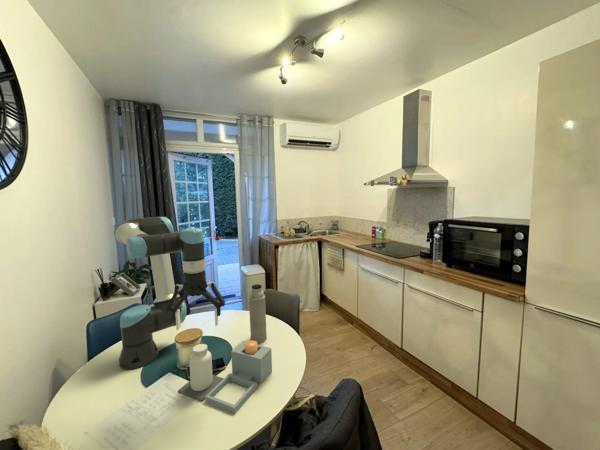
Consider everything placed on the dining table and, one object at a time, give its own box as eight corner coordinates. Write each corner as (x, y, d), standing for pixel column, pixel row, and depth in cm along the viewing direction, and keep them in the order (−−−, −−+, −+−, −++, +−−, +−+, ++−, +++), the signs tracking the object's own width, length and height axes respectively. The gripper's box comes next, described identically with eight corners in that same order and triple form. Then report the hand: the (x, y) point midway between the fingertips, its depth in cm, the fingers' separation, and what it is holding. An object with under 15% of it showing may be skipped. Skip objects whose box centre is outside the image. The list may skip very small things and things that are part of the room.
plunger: (243, 362, 106) (242, 345, 105) (250, 355, 110) (249, 339, 110) (253, 365, 104) (252, 348, 103) (260, 358, 108) (259, 342, 108)
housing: (204, 401, 93) (202, 375, 92) (244, 362, 114) (243, 341, 113) (236, 414, 87) (234, 386, 86) (272, 371, 108) (271, 348, 107)
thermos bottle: (258, 333, 139) (256, 282, 136) (269, 337, 135) (268, 284, 132) (247, 340, 132) (245, 286, 129) (259, 344, 128) (257, 289, 125)
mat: (177, 392, 98) (177, 390, 98) (201, 372, 108) (201, 371, 108) (202, 401, 93) (201, 400, 93) (224, 380, 103) (224, 378, 103)
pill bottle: (213, 388, 98) (211, 350, 97) (190, 394, 95) (187, 355, 94) (212, 375, 106) (210, 339, 104) (190, 380, 103) (188, 344, 101)
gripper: (153, 276, 90) (158, 334, 92) (228, 271, 94) (231, 327, 97) (161, 270, 97) (165, 324, 100) (230, 265, 102) (232, 318, 104)
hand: (197, 326), depth 98 cm, fingers open, 13 cm apart
